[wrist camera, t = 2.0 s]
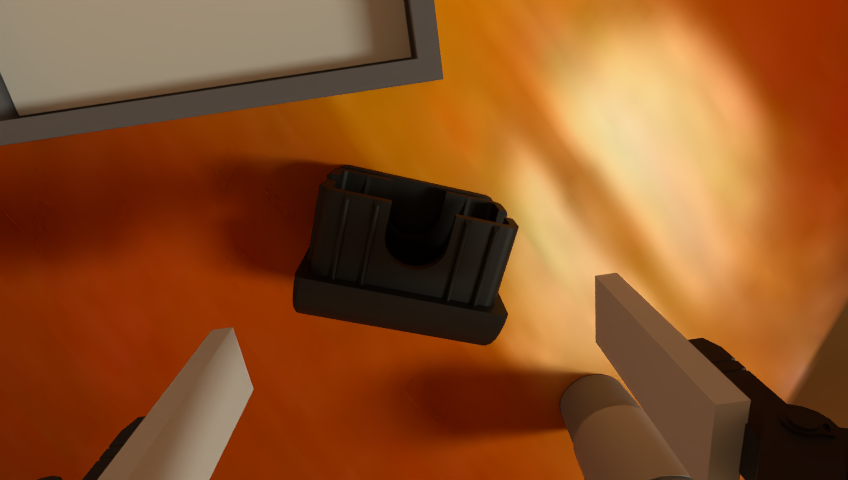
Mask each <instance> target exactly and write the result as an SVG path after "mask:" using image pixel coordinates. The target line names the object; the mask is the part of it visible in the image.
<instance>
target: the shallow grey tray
mask: <svg viewBox="0 0 848 480" xmlns="http://www.w3.org/2000/svg"><path fill="white" fill-rule="evenodd" d="M441 79H443V73H442V64H441V56H440V47H439V39H438V31H437V22H436V14H435V5H434V0H0V146H1V145H7V144H14V143H21V142H27V141H34V140H41V139H47V138H54V137H61V136H67V135H74V134H81V133H87V132H94V131H101V130H107V129H114V128H121V127H127V126H134V125H141V124H147V123H154V122H161V121H167V120H174V119H181V118H187V117H194V116H201V115H207V114H214V113H221V112H227V111H234V110H241V109H247V108H254V107H261V106H267V105H274V104H281V103H287V102H294V101H301V100H307V99H314V98H321V97H327V96H334V95H341V94H347V93H354V92H361V91H367V90H374V89H381V88H387V87H394V86H401V85H407V84H414V83H421V82H427V81H434V80H441Z"/></svg>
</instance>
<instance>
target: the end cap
mask: <svg viewBox="0 0 848 480" xmlns="http://www.w3.org/2000/svg"><path fill="white" fill-rule="evenodd" d="M506 217H507V211H506V210H505V209H504V208H503V206H502V205H501V204H499V203H496V202H494V201H492V199H491V198H490V197H488V196H487V195H483V194H479V193H474V192H469V191H465V190H460V189H456V188H451V187H447V186H442V185H438V184H433V183H429V182H424V181H420V180H415V179H410V178H406V177H401V176H397V175H392V174H388V173H383V172H379V171H374V170H370V169H365V168H361V167H356V166H351V165H344V166H342V167H341V168H336V169H334V171H333V172H331V173H330V174H328V175H327V180H326V182H324V183H323V184H321V185H320V187H319V193H318V199H317V205H316V211H315V218H314V224H313V230H312V236H311V243H310V247H309V249H308V251H307V252H306V254H305V256H304V258H303V260H302V262H301V264H300V266H299V267H298V269H297V271H296V273H295V279H294V287H293V307H294V309H295V311H296V312H298V313H302V314H308V315H314V316H319V317H325V318H331V319H336V320H342V321H348V322H353V323H359V324H365V325H370V326H376V327H382V328H387V329H393V330H399V331H404V332H410V333H416V334H421V335H427V336H433V337H438V338H444V339H450V340H455V341H461V342H467V343H472V344H478V345H488V344H491V343H492V342H493V341H494V340H495V339H496V338H497V336H498V335H499V333H500V332H501V330H502V328H503V326H504V324H505V321H506V318H507V316H508V313H507V311H506V308H505V306H504V304H503V302H502V300H501V297H500V295H499V293H498V291H499V287H500V284H501V281H502V278H503V275H504V272H505V269H506V265H507V262H508V259H509V256H510V253H511V250H512V247H513V243H514V240H515V237H516V234H517V231H518V228H519V227H518V225H517V224H516V223H515V221H514V220H513V219H511V218H506Z"/></svg>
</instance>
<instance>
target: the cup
mask: <svg viewBox="0 0 848 480" xmlns="http://www.w3.org/2000/svg"><path fill="white" fill-rule="evenodd" d="M560 411H561V414H562V417H563V419H564V422H565V424H566V427H567V429H568V432H569V434H570V437H571V439H572V442H573V444H574V452H575V455H576V458H577V461H578V463H579V466H580V468H581V471H582V473H583V476H584V478H585V480H693V479H692V478H691V476H690V475H689V474H688V472H687V471H686V469H685V468H684V466H683V465H682V464H681V462H680V461H679V459H678V458H677V456H676V455H675V454H674V452H673V451H672V449H671V448H670V446H669V445H668V444H667V442H666V441H665V439H664V438H663V437H662V435H661V434H660V432H659V431H658V429H657V428H656V427H655V425H654V424H653V422H652V421H651V419H650V418H649V417H648V415H647V414H646V412H645V411H644V410H642V409H641V407H640V406H639V405H638V404H637V403H636V401H635V400H634V399H633V398H632V397H631V395H630V394H629V393H628V392H627V391H626V389H625V388H624V387H623V386H622V385H621V383H620V382H619V381H617V380H616V379H614V378H612V377H610V376H607V375H599V374H596V375H589V376H586V377H583V378H581V379H578V380H577V381H575V382H574V383H572V384H571V385H570V386H569V387H568V388H567V389H566V391H565V392H564V394H563V396H562V398H561V401H560Z"/></svg>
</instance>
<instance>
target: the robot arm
mask: <svg viewBox="0 0 848 480" xmlns="http://www.w3.org/2000/svg"><path fill="white" fill-rule="evenodd" d="M595 308H596V343H597V344H598V346H599V347H600V348H601V350H602V351H603V353H604V354H605V356H606V357H607V358H608V360H609V361H610V363H611V364H612V365H613V367H614V368H615V370H616V371H617V373H618V374H619V375H620V377H621V378H622V380H623V381H624V383H625V384H626V385H627V387H628V388H629V390H630V391H631V392H632V394H633V395H634V397H635V398H636V400H637V401H638V402H639V404H640V405H641V407H642V408H643V410H644V411H645V412H646V414H647V415H648V417H649V418H650V419H651V421H652V422H653V424H654V425H655V427H656V428H657V429H658V431H659V432H660V434H661V435H662V437H663V438H664V439H665V441H666V442H667V444H668V445H669V446H670V448H671V449H672V451H673V452H674V454H675V455H676V456H677V458H678V459H679V461H680V462H681V464H682V465H683V466H684V468H685V469H686V471H687V472H688V474H689V475H690V476H691V478H692V479H693V480H739V479H740V474H741V475H742V477H743V478H744V479H745V480H848V428H840V427H838V426H837V425H836V424H835V423H834V422H832V421H831V420H830V419H829V418H827V417H825V416H824V415H822V414H820V413H818V412H816V411H814V410H811V409H808V408H805V407H802V406H796V405H791V404H786V403H785V402H784V401H783V400H782V399H781V398H779V397H778V396H777V395H776V394H775V393H774V392H773V391H771V390H770V389H769V388H768V387H767V386H766V385H764V384H763V383H762V382H761V381H760V380H759V379H758V378H756V377H755V376H754V375H753V374H752V373H751V372H750V371H746V368H745V367H744V366H743V365H741V364H740V363H739V362H738V361H735V358H733V357H732V356H731V355H730V354H729V353H728V352H727V351H725V350H724V349H723V348H722V347H720V346H718V345H716V344H714V343H712V342H710V341H708V340H706V339H704V338H698V339H691V340H687V339H686V338H685V337H684V336H683V335H682V334H681V333H680V332H679V331H677V330H676V329H675V328H674V327H673V326H672V325H671V324H670V323H669V322H668V321H667V320H666V319H665V318H664V317H663V316H662V315H661V314H660V313H659V312H657V311H656V310H655V309H654V308H653V307H652V306H651V305H650V304H649V303H648V302H647V301H646V300H645V299H644V298H643V297H642V296H641V295H640V294H638V293H637V292H636V291H635V290H634V289H633V288H632V287H631V286H630V285H629V284H628V283H627V282H626V281H625V280H624V279H623V278H622V277H621V276H620V275H618V274H617V273H612V274H605V275H598V276H595ZM252 391H253V386H252V383H251V380H250V377H249V374H248V371H247V368H246V365H245V362H244V359H243V356H242V353H241V350H240V347H239V344H238V341H237V338H236V336H235V333H234V330H233V327H231V328H224V329H217V330H212V331H211V332H210V333H209V335H208V336H207V337H206V338H205V340H204V341H203V342H202V344H201V345H200V346H199V348H198V349H197V350H196V352H195V353H194V354H193V355H192V357H191V358H190V359H189V361H188V362H187V363H186V365H185V366H184V367H183V369H182V370H181V371H180V372H179V374H178V375H177V376H176V378H175V379H174V380H173V382H172V383H171V384H170V386H169V387H168V388H167V389H166V391H165V392H164V393H163V395H162V396H161V397H160V399H159V400H158V401H157V403H156V404H155V405H154V406H153V408H152V409H151V410H150V412H149V413H148V414H147V416H144V417H138V418H137V419H136V420H134V421H133V422H132V423H131V424H130V425H128V426H127V427H126V428H125V429H123V430H122V431H121V432H120V433H119V435H118V436H117V437H116V438H115V440H114V441H113V442H112V443H111V445H110V446H109V449H107V450H106V451H105V452H104V453H103V455H102V456H101V457H100V460H99V461H97V462H96V463H95V465H94V466H93V467H92V468H91V469H90V471H89V472H88V473H87V474H86V476H85V477H84V478H83V479H82V480H209V479H210V477H211V475H212V473H213V471H214V469H215V467H216V465H217V463H218V461H219V459H220V457H221V455H222V453H223V450H224V448H225V446H226V444H227V442H228V440H229V438H230V436H231V434H232V432H233V430H234V428H235V426H236V424H237V422H238V420H239V418H240V416H241V414H242V412H243V410H244V408H245V406H246V404H247V401H248V399H249V397H250V395H251V393H252ZM38 480H62V478H61V477H57V476H49V477H45V478H40V479H38Z"/></svg>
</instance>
